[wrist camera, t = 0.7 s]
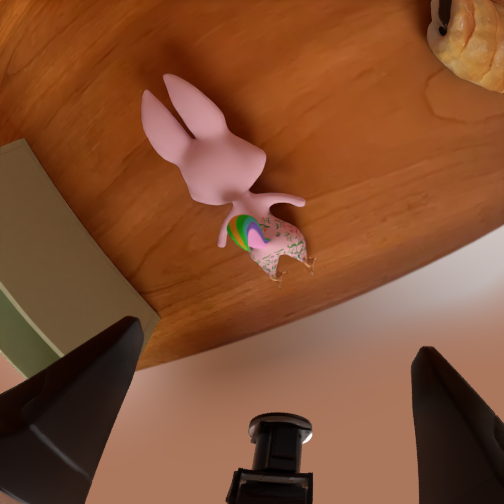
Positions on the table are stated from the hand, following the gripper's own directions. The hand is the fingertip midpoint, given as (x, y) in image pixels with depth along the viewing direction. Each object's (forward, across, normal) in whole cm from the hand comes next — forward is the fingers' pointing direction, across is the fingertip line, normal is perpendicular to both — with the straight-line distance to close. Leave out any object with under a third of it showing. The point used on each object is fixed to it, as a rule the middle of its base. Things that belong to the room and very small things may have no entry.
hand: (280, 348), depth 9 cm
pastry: (+12, -12, -13) cm, 21 cm away
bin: (+12, +21, +7) cm, 25 cm away
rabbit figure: (+12, +3, -1) cm, 13 cm away
